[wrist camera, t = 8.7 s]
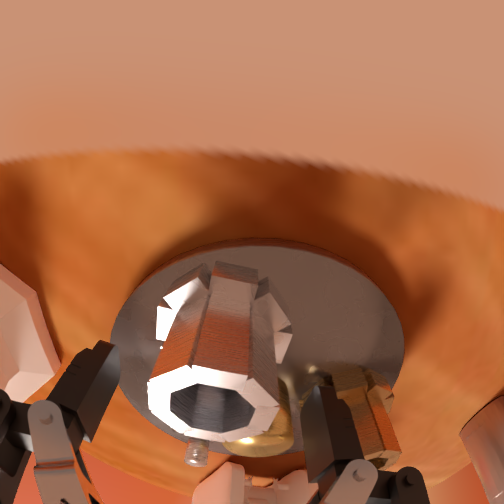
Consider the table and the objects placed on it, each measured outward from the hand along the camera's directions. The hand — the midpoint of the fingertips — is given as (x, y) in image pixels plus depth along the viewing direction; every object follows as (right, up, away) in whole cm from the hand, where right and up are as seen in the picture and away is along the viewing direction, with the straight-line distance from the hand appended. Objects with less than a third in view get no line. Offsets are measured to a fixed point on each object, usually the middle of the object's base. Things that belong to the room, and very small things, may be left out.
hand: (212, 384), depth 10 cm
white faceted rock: (-21, 0, +7) cm, 22 cm away
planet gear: (0, +2, +4) cm, 5 cm away
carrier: (+2, -3, +8) cm, 9 cm away
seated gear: (+8, -5, +7) cm, 12 cm away
